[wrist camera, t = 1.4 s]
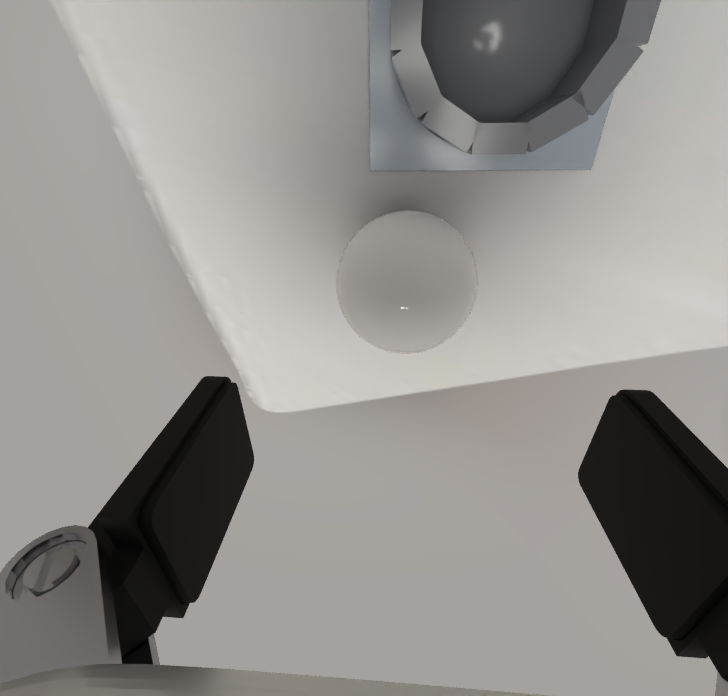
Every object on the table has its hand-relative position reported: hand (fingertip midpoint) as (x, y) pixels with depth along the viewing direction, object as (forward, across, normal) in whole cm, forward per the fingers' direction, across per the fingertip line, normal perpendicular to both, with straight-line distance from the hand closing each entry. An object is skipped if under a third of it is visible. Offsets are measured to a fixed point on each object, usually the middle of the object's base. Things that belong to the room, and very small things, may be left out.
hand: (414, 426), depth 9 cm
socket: (+16, -4, -11) cm, 20 cm away
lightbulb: (+17, 0, -1) cm, 17 cm away
